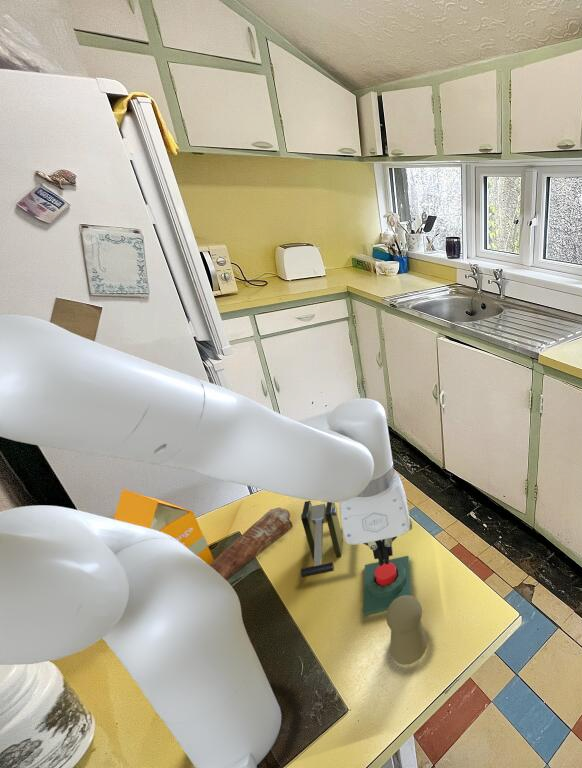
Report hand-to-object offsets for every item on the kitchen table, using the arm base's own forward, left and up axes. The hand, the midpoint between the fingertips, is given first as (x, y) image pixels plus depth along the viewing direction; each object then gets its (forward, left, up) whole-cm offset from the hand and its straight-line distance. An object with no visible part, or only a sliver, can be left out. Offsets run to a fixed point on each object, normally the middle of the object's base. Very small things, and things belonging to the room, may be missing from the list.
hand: (384, 558), depth 71 cm
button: (0, 0, -5) cm, 5 cm away
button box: (0, 0, -8) cm, 8 cm away
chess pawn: (-12, -3, -8) cm, 15 cm away
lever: (+7, +11, 0) cm, 13 cm away
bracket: (+11, +11, -8) cm, 18 cm away
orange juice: (+13, +37, -8) cm, 40 cm away
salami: (+14, +26, -8) cm, 31 cm away
